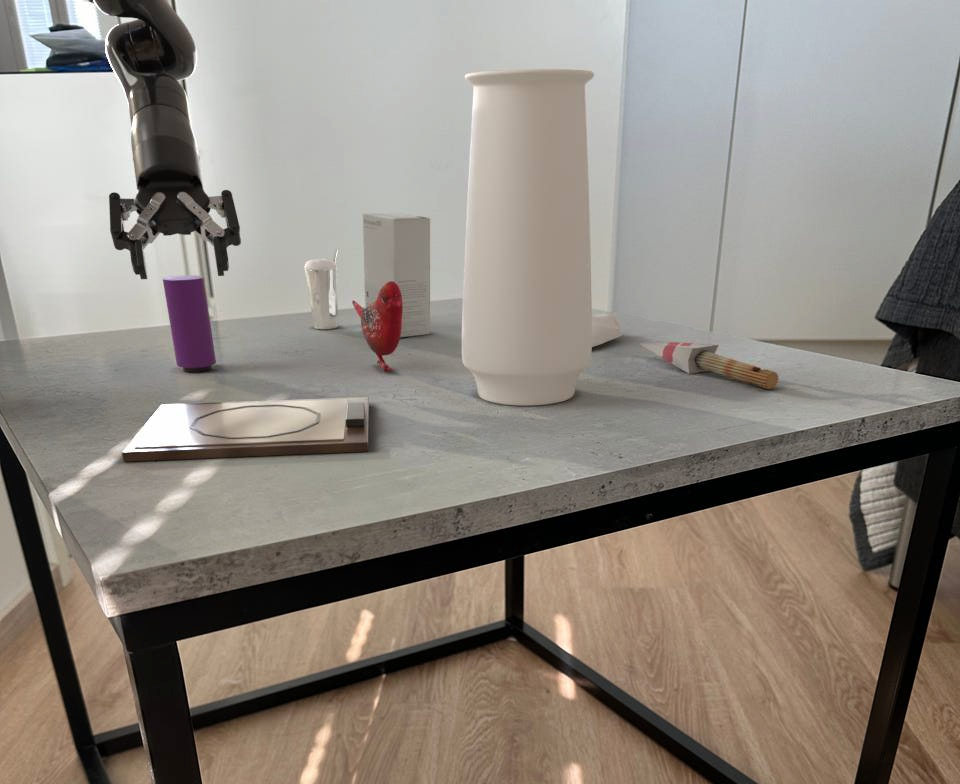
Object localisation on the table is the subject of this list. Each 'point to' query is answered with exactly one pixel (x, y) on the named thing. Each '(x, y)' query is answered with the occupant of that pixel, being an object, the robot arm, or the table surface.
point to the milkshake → (323, 292)
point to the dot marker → (190, 322)
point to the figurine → (604, 328)
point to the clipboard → (252, 429)
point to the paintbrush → (710, 362)
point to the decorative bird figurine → (382, 321)
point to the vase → (527, 236)
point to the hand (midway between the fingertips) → (182, 273)
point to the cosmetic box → (399, 264)
